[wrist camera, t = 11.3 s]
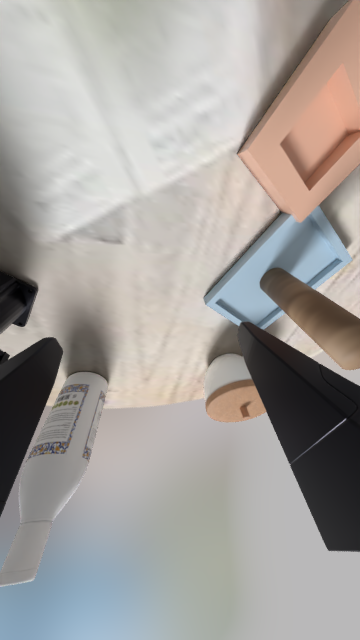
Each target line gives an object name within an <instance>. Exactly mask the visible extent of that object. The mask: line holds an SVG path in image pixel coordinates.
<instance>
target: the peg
mask: <svg viewBox="0 0 360 640" xmlns="http://www.w3.org/2000/svg"><path fill="white" fill-rule="evenodd" d="M260 288H261V290H263V291H264V292H265V293H266V294H267V295H268V296H269V297H270V298H271V299H272V300H273V301H274V302H275V303H276V304H277V305H278V306H279V307H280V308H281V309H282V310H283V311H284V312H285V313H286V314H287V315H288V316H289V317H290V318H291V319H292V320H293V321H294V322H295V323H296V324H297V325H298V326H299V327H300V328H301V329H302V330H303V331H304V332H305V333H306V334H307V335H308V336H309V337H310V338H311V339H313V340H314V341H315V342H316V343H317V344H318V345H319V346H320V347H321V348H322V349H323V350H324V351H325V352H326V353H327V354H328V355H329V356H330V357H331V358H332V359H333V360H334V361H335V362H336V363H337V364H338V365H339V366H340V367H341V368H342V369H345V370H354V369H359V368H360V319H359V318H358V317H356V316H355V315H353V314H351V313H350V312H348V311H347V310H345V309H344V308H342V307H341V306H339V305H338V304H336V303H334V302H333V301H331V300H330V299H328V298H327V297H325V296H324V295H322V294H321V293H319V292H318V291H316V290H314V289H313V288H311V287H310V286H308V285H307V284H305V283H304V282H302V281H301V280H299V279H297V278H296V277H294V276H293V275H291V274H290V273H288V272H287V271H285V270H284V269H282V268H272V269H270V270H268V271H267V272H266V273H265V274H264V275H263V276H262V278H261V280H260Z"/></svg>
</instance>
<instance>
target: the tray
mask: <svg viewBox="0 0 360 640" xmlns="http://www.w3.org/2000/svg"><path fill="white" fill-rule="evenodd" d="M352 260H353V259H352V258H351V256H350V255H349V253H348V251H347V250H346V248H345V247H344V245H343V243H342V242H341V240H340V239H339V237H338V235H337V234H336V232H335V231H334V229H333V227H332V226H331V224H330V223H329V221H328V219H327V218H326V216H325V215H324V213H323V211H322V210H321V208H320V206H319V205H318V206H317V207H316V208H315V209H314V210H313V211H312V212H311V213H310V214H309V215H308V216H307V217H306V218H305V219H304V220H303V221H302V222H301V223H300V222H296V220H295V219H294V217H293V216H292V215H291V214H286V213H281V214H280V215H279V217H278V218H277V219H276V220H275V221H274V222H273V223H272V224H271V225H270V226H269V227H268V229H267V230H266V231H265V232H264V233H263V234H262V235H261V236H260V237H259V238H258V239H257V240H256V242H255V243H254V244H253V245H252V246H251V247H250V248H249V249H248V250H247V251H246V252H245V254H244V255H243V256H242V257H241V258H240V259H239V260H238V261H237V262H236V263H235V264H234V266H233V267H232V268H231V269H230V270H229V271H228V272H227V273H226V274H225V275H224V276H223V278H222V279H221V280H220V281H219V282H218V283H217V284H216V285H215V286H214V287H213V288H212V289H211V291H210V292H209V293H208V294H207V295H206V296H205V297H204V298H203V299H204V301H205V304H206V305H207V306H209V307H210V308H212V309H213V310H215V311H216V312H218V313H219V314H221V315H222V316H224V317H225V318H227V319H228V320H230V321H232V322H233V323H235V324H236V325H238V326H239V325H240V323H241V322H246V321H249V322H251V323H253V324H254V325H256V326H258V327H259V328H261V329H263V330H264V329H265V328H267V327H268V326H269V325H271V324H272V323H273V322H274V321H276V320H277V319H278V318H279V317H281V316H282V315H283V314H284V313H285V312H284V311H283V310H282V309H281V308H280V307H279V306H278V305H277V304H276V303H275V302H274V301H273V300H272V299H271V298H270V297H269V296H268V295H267V294H266V293H265V292H264V291H263V290H261V288H260V280H261V278H262V276H263V275H264V274H265V273H266V272H267V271H268V270H270V269H272V268H282V269H284V270H285V271H287V272H288V273H290V274H291V275H293V276H294V277H296V278H297V279H299V280H301V281H302V282H304V283H305V284H307V285H308V286H310V287H311V288H313V289H314V290H315V289H316V288H317V287H319V286H320V285H321V284H322V283H324V282H325V281H326V280H328V279H329V278H330V277H331V276H333V275H334V274H335V273H336V272H338V271H339V270H340V269H341V268H343V267H344V266H345V265H347V264H348V263H349V262H350V261H352Z"/></svg>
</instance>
